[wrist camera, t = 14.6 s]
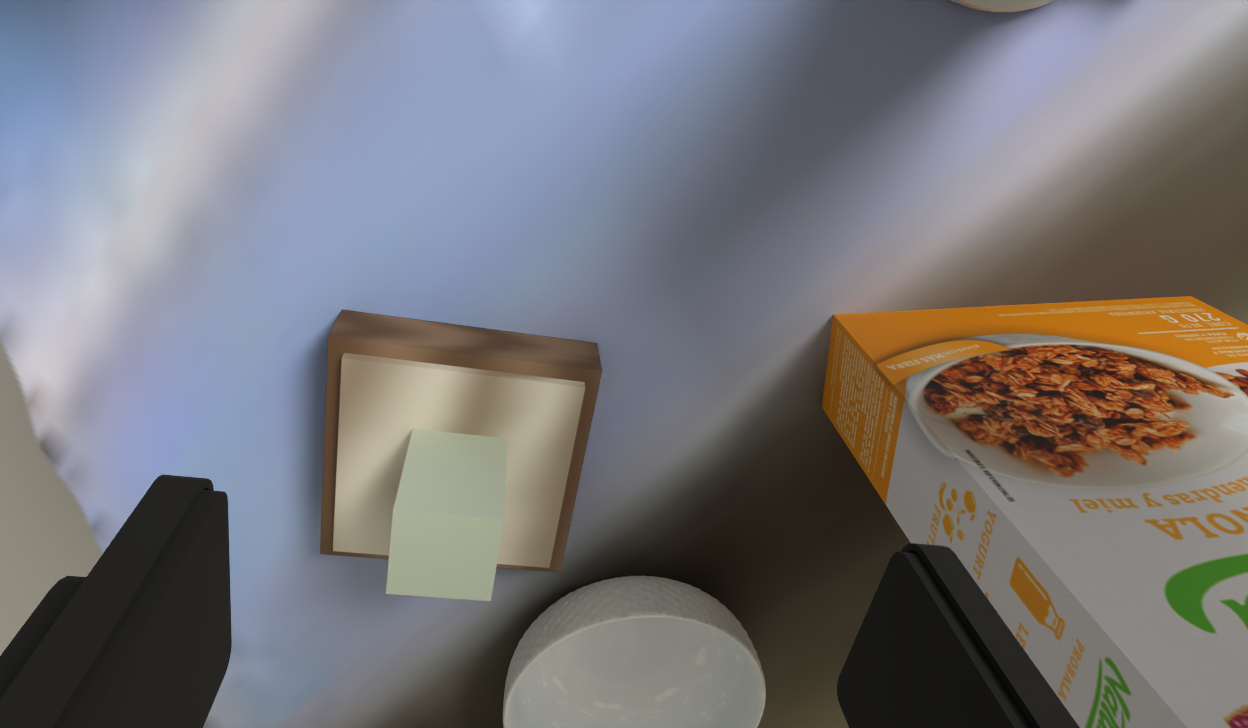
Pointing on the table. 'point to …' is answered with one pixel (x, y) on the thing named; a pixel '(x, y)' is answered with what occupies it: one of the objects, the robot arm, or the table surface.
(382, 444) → the base
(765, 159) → the table surface
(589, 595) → the cereal bowl
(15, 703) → the robot arm
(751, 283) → the table surface
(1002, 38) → the table surface
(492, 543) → the block
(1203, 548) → the cereal box
